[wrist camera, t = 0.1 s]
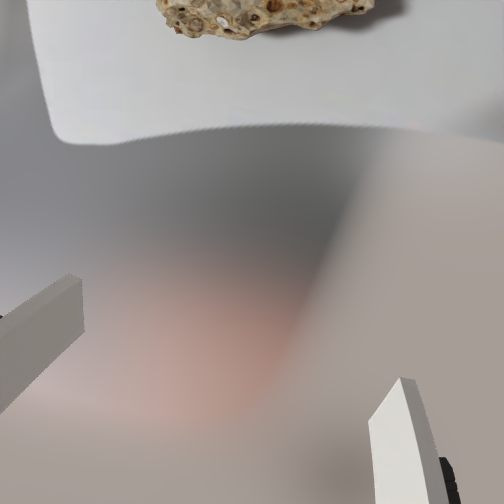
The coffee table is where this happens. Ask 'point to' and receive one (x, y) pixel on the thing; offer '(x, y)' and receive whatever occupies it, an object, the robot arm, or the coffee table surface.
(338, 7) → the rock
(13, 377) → the robot arm
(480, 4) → the coffee table surface
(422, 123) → the coffee table surface
